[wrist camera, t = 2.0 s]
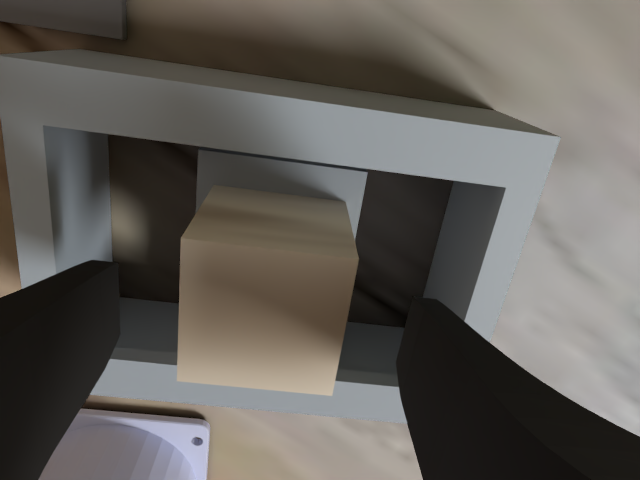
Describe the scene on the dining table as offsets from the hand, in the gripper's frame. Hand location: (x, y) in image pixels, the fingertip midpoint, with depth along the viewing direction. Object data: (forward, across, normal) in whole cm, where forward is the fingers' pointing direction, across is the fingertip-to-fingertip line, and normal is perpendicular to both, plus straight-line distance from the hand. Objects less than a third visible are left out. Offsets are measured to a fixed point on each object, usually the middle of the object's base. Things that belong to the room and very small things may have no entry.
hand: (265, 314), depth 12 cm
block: (+4, 0, 0) cm, 4 cm away
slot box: (+7, 0, 0) cm, 7 cm away
